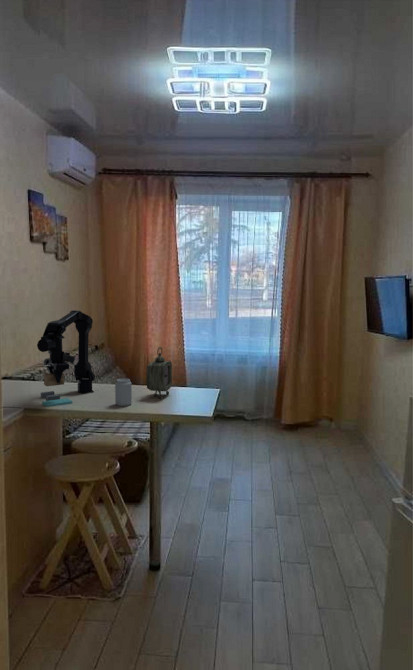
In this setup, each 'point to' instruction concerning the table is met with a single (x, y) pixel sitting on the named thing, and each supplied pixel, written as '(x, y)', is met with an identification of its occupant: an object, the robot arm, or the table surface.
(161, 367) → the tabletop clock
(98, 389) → the table surface
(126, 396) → the can
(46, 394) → the grey blocks
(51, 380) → the walnut block
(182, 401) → the table surface
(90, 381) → the robot arm
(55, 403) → the pad
